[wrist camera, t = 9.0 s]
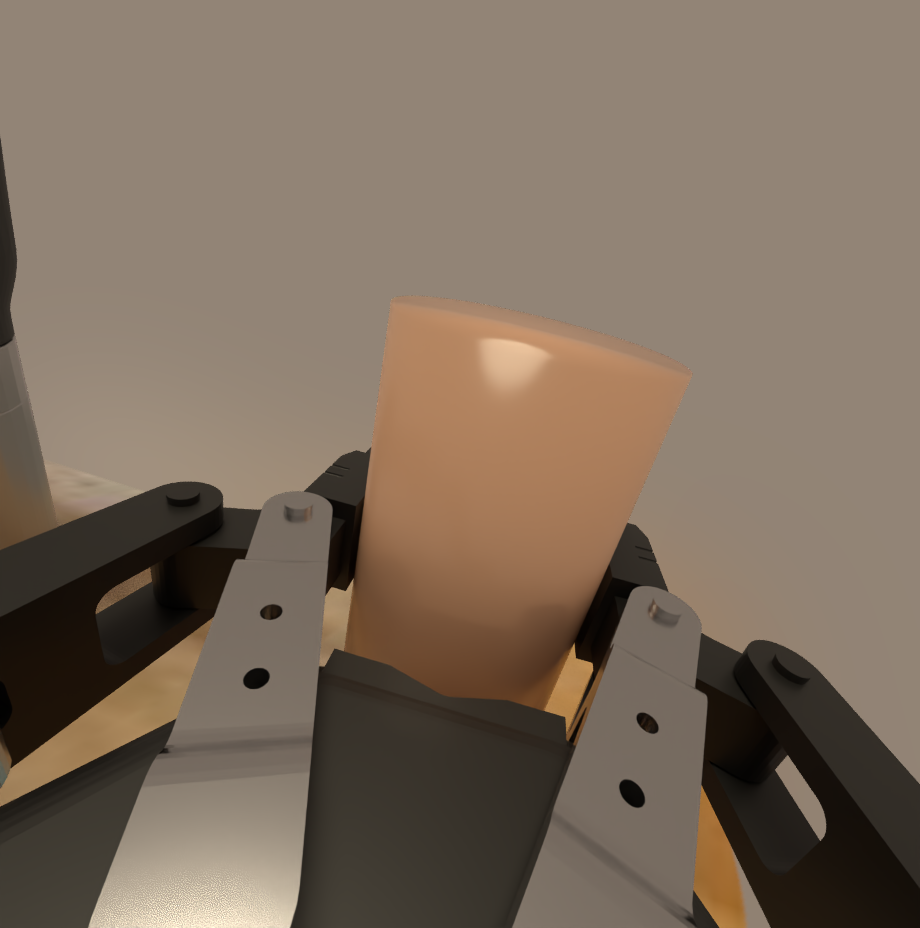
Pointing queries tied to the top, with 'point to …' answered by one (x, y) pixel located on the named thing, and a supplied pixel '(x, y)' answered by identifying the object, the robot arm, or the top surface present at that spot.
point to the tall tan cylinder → (498, 491)
